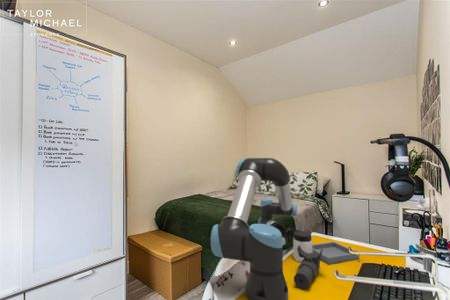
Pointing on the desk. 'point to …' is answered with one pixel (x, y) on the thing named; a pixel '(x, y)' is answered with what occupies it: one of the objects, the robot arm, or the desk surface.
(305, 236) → the jar
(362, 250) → the desk surface
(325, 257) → the tray
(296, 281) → the laser sight
